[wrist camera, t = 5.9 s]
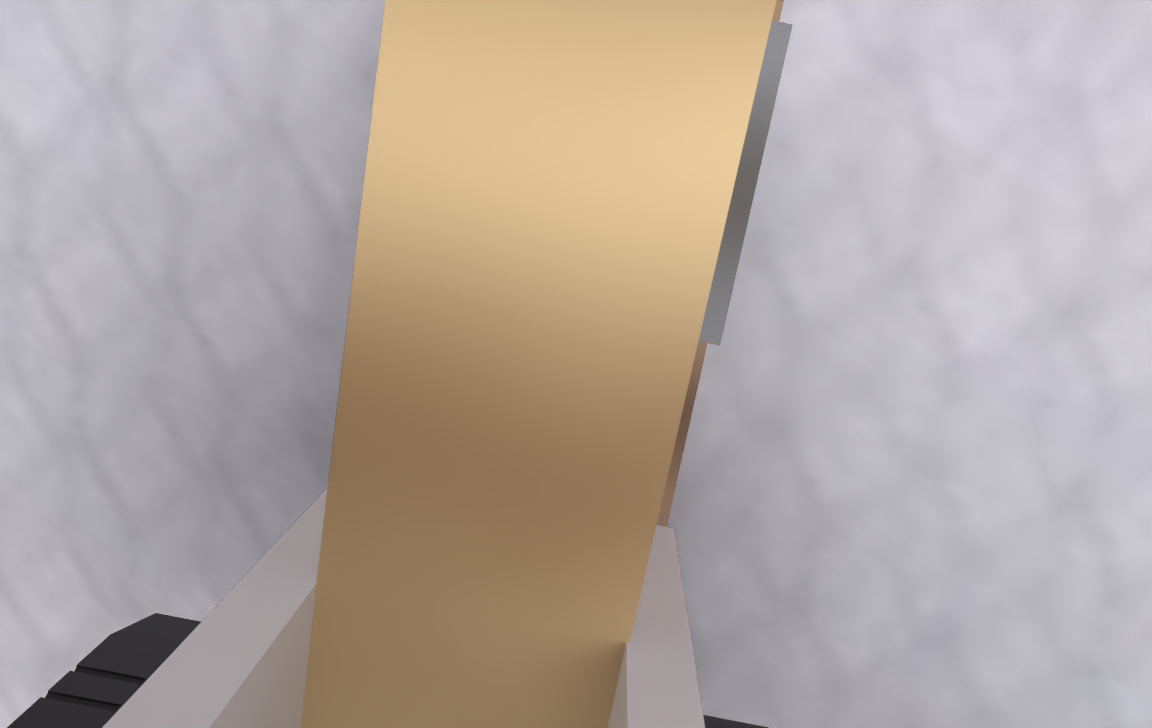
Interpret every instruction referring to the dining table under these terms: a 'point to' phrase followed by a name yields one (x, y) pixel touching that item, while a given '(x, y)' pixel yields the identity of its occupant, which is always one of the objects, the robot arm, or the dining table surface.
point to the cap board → (733, 231)
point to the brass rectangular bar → (520, 349)
